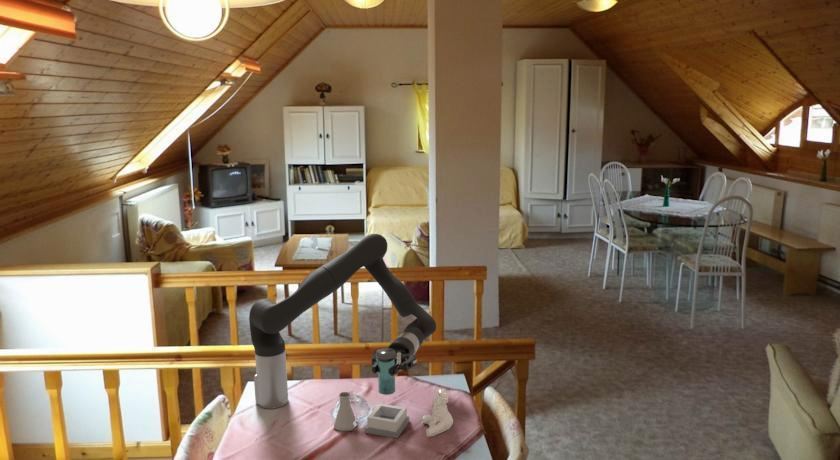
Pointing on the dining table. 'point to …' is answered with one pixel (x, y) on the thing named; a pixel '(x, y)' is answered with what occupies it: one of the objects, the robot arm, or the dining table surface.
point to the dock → (387, 421)
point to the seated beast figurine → (438, 415)
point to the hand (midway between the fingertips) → (382, 371)
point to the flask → (344, 414)
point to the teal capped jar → (386, 370)
